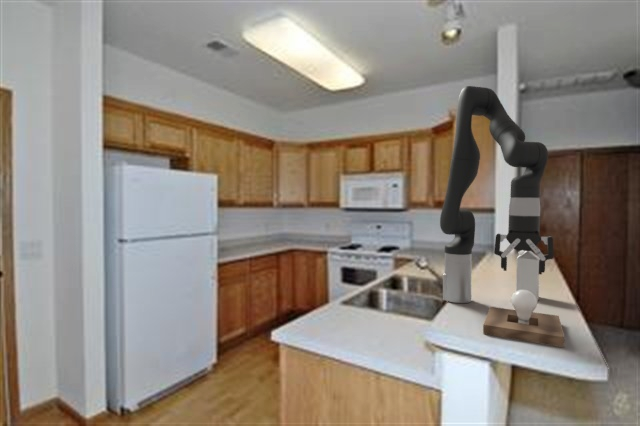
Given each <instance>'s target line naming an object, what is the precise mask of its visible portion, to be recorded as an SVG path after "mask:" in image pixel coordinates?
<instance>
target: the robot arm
mask: <svg viewBox="0 0 640 426" xmlns="http://www.w3.org/2000/svg"><path fill="white" fill-rule="evenodd" d="M473 116H477V117H481V116H482V117H485V118H487V119H488V120H489V121H490V122H489V133H490V135H491V137H492V138H493V139H494V140H495V142H496V143H497V144H498V145H499V147H500V150H501V153H502V156H503V161H505V163H506V164H508V165H509V166H510V167H513V168H525V170H524V172H523V175H519V176H515V177H513V178H512V179H511V182H510V195H509V197H510V199H509V204H508V232H507V234H502V233H499V232H498V233H496V235H495V240H494V249H493V250H494V251H493V253H494V255H496V256H499V257H500V268H501V269H503V271H504V272H507V270H508V269H507V267H508V257H507V256H508V255H509V254H510V253H511V252H512V251H513V250H515V251H518V252H520V251H521V250H523V251H524V252H525V251H532V252H533V253H534V254H535V255H536V256H538V257H539V275H543V273H545V271H546V261H548V260H553V259H554V256H555V255H554V239H553V236H550V235H549V236H541V234H540V226H541V225H540V223H541V203H540V202H541V201H540V199H541V198H540V196H541V195H540V194H541V193H540V192H541V185H540V184H541V180H542V179H543V176H544V173H545V170H546V166H547V164H548V160H549V150H548V148H547V146H546V145H545V144H544V143H542V142H538V141H526V133H525V132H524V131H523V129H522V128H521V127H520V126H519V125H518V124H517V123H516V122H515V120H513V119H512V118H511V116H509V114H508V113H507V110H506V108H504V106H503V104H502V102H501V100H500V99H499V96H498V95H497V94H496V92H495V91H494V90H493V89H492V88H488V87H482V86H473V85H466V86H465V87H463V88H462V89H461V91H460V93H459V95H458V99H457V105H456V117H455V118H456V119H455V133H454V141H453V149H452V154H451V159H450V160H451V161H450V167H449V175H448V181H447V186H446V187H447V188H446V193H445V198H444V200H443V205H442V208H441V212H440V218H439V219H440V220H439V225H440V226H439V228H440V229H441V231H442V233H443V234H445V235H451V236H452V235H454V238H453V239H452V240H451V241H450V242H448V243H446V244H445V245H444V269H443V270H444V273H443V274H442V301H446V302H450V303H455V304H467V303H471V302H472V273H473V272H472V270H473V269H472V267H473V266H472V265H473V264H472V262H473V261H472V260H473V259H472V256H473V255H472V254H473V251H472V250H473V248H474V245H475V237H476V236H475V235H476V220H475V215H474V213H473V212H472V211H471V210H470V209H466V208H465V209H464V208H461V206H462V205H461V204H462V201H463V198H464V195H465V193H466V192H467V190H469V188H470V186H471V185H472V184H473V182H474V180H476V178H477V175H478V172H479V167H480V160H481V151H480V149H479V146H478V144H477V141H476V139H475V137H474V134H473V130H472V129H473V128H472V121H473V120H472V119H473ZM505 239H506V240H507V242H508V243H509V245H508V246H507V248H506V249H505V250H504V251H502V250H501V243H503V242H504V241H505ZM541 242H543V243H544V245H547V254H544V253H543V252H542V251H541V250H540V248H539V247H538V244H540V243H541Z"/></svg>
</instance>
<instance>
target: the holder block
mask: <svg viewBox="0 0 640 426" xmlns="http://www.w3.org/2000/svg"><path fill="white" fill-rule="evenodd" d="M482 326H483V327H482V328H483V329H482V331H483V332H482V334H483V335H488V336H489V335H490V336H493V335H494V337H499V336H500V337H499V338H505V337H506V339H512V340H517V341H525V342H530V343H536V344H542V345H548V346H554V347H558V348H559V347H560V348H565V335H564V330H563V326H562V322H561V319H560V315H558V314H557V315H555V314H549V313H541V312H540V313H539V312H534V311H533V312H532V314H531V317H530V319H529V325H528V324H521V323H519V322H518V316H517V312H516V310H515V309H509V308H503V307H495V306H490V307H489V308H488V312H487V314H486V317H485V319H484V322H483V324H482Z"/></svg>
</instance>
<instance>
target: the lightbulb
mask: <svg viewBox="0 0 640 426" xmlns="http://www.w3.org/2000/svg"><path fill="white" fill-rule="evenodd" d="M510 302H511V305H512V306H513V308H514V309H513V310H516V312H517V316H518V322H519V323H521V324H528V325H529V319H530V317H531V314H532V312H534V311H535V310H536V308H537V306H538V300H537V299H536V297H535V295H534V294H533V293H532V292H530V291H528V290H523V289H522V290H517V291H516V290H515V291H514V292H513V294H512V295H511V298H510Z"/></svg>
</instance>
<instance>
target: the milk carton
mask: <svg viewBox="0 0 640 426" xmlns="http://www.w3.org/2000/svg"><path fill="white" fill-rule="evenodd" d="M517 254H518V256H517V257H516V272H515V273H516V278H515V279H516V280H515V281H516V282H515V283H516V284H515V285H516V286H515V287H516V290H515V292H516V291H517V290H522V289H523V290H528V291H530V292H532V293H533V294H534V295H535V297H536V299H537V301H539V297H540V296H539V295H540V294H539V293H540V289H539V288H540V286H539V285H540V274H539V260H540V258H539V257H538V256H537V255H536V253H535V252H534V251H533V250H531V251H524V250H520V251H518V252H517Z"/></svg>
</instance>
